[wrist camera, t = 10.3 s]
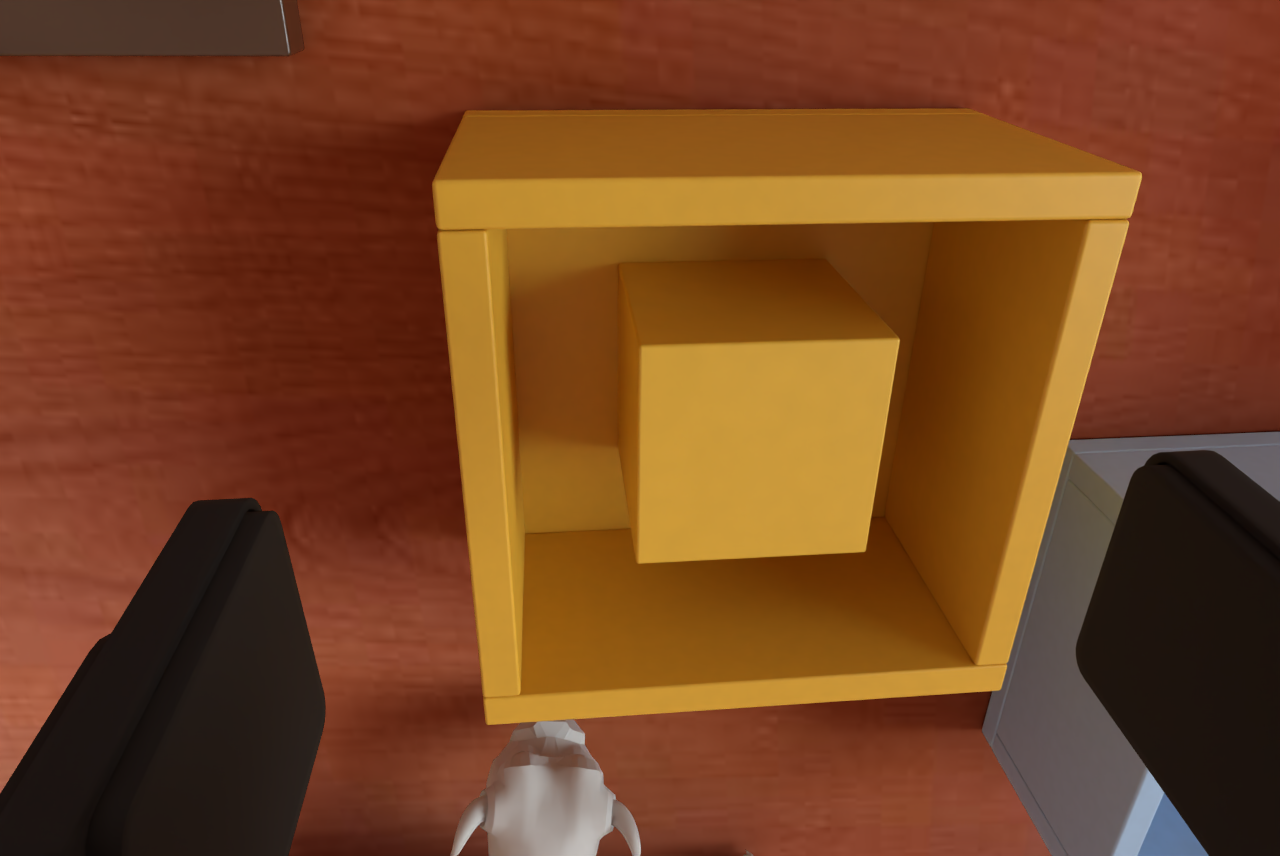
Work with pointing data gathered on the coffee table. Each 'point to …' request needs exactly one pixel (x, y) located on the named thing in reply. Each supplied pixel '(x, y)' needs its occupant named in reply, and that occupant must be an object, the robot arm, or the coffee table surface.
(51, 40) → the stand
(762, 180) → the mustard bin
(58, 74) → the coffee table surface
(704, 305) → the mustard block
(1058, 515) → the blue bin
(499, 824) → the dragon figurine
